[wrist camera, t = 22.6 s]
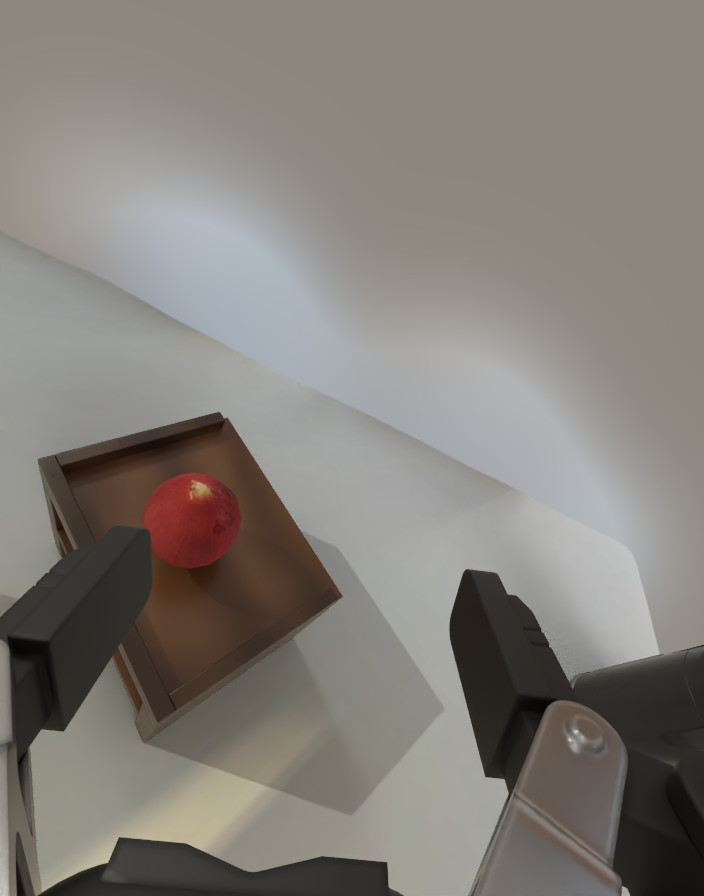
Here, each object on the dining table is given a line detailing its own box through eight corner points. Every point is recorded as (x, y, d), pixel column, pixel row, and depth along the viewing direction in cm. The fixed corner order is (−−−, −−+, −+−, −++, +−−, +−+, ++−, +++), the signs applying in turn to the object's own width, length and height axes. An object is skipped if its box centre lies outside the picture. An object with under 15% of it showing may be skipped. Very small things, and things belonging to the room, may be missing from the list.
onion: (218, 501, 33) (242, 440, 27) (237, 573, 30) (267, 522, 24) (133, 514, 30) (139, 448, 24) (146, 595, 27) (157, 543, 21)
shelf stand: (205, 486, 46) (230, 408, 37) (294, 636, 41) (349, 591, 32) (55, 542, 37) (36, 458, 28) (143, 743, 32) (158, 724, 23)
